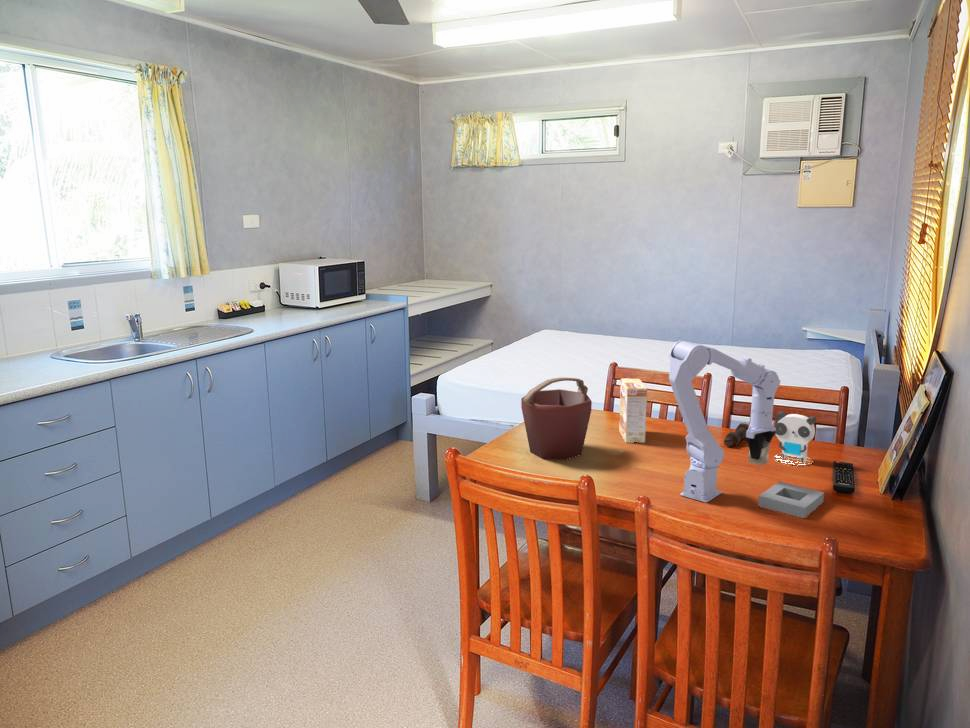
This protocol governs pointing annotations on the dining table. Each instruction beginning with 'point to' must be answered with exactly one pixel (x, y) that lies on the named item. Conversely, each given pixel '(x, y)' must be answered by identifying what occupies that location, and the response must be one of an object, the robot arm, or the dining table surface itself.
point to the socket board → (791, 499)
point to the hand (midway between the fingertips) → (758, 456)
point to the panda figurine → (794, 436)
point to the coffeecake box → (633, 410)
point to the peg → (763, 456)
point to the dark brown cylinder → (736, 435)
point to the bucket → (556, 420)
